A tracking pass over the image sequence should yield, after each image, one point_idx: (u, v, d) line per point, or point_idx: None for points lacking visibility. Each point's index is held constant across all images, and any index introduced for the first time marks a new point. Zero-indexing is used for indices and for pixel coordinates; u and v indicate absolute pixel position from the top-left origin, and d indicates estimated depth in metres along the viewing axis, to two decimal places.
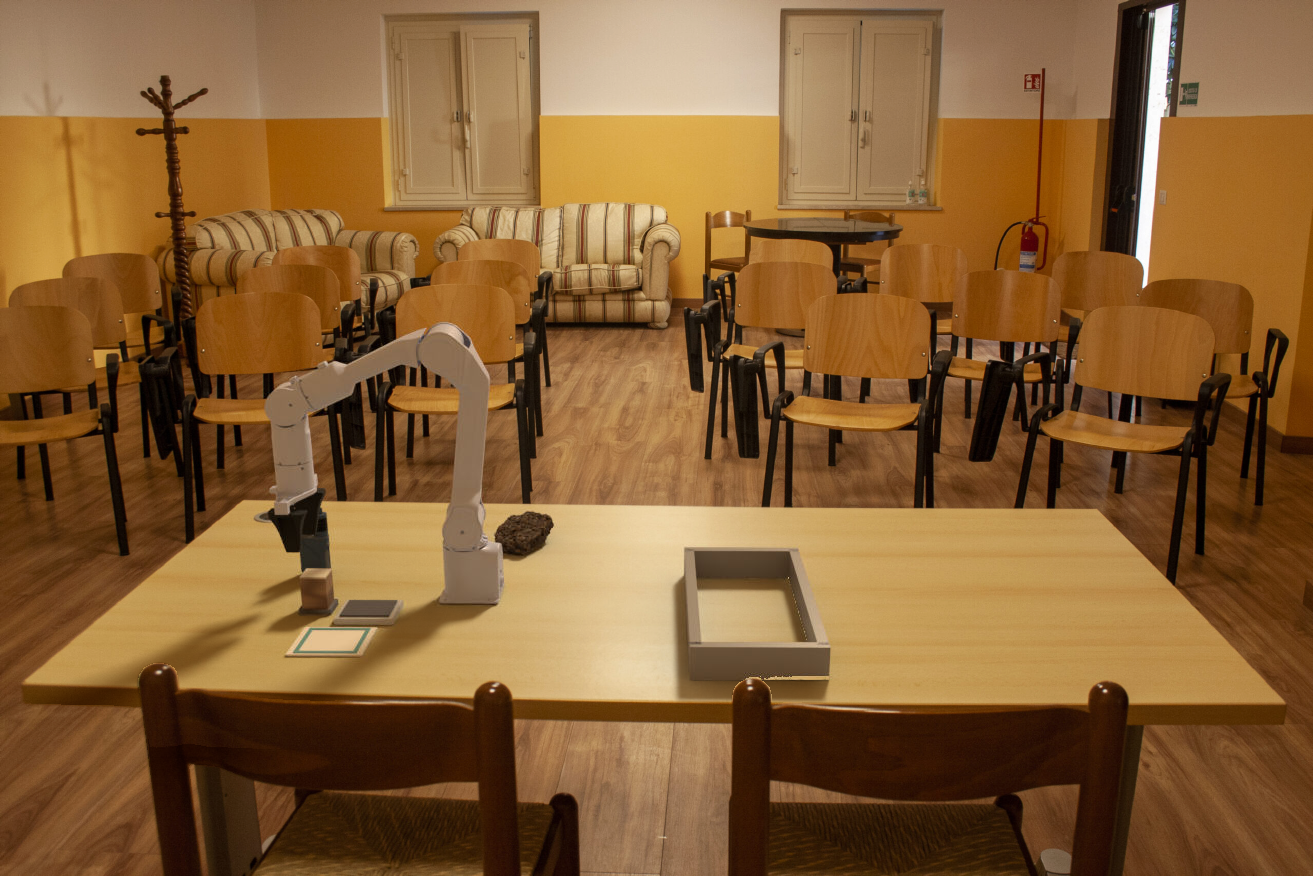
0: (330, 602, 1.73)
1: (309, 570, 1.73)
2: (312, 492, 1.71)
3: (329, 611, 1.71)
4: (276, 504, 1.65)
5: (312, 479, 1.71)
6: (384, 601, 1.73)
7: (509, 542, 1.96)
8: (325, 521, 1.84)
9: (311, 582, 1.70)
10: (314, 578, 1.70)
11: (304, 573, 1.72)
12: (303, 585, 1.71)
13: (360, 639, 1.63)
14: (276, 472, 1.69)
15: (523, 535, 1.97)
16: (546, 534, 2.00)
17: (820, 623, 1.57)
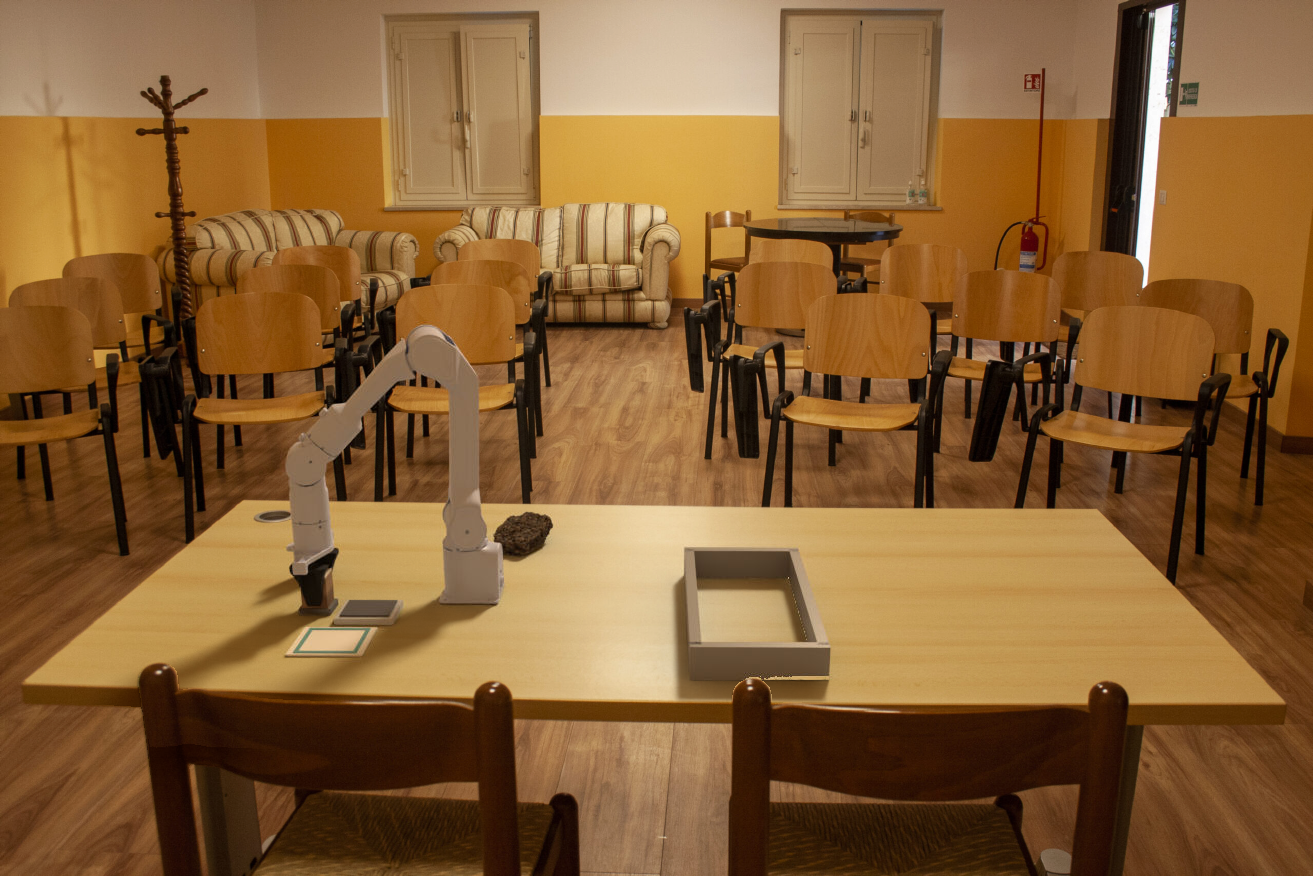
0: (330, 601, 1.73)
1: None
2: (329, 550, 1.70)
3: (329, 611, 1.71)
4: (294, 564, 1.64)
5: (329, 537, 1.70)
6: (384, 601, 1.73)
7: (508, 543, 1.95)
8: None
9: None
10: None
11: None
12: None
13: (360, 639, 1.63)
14: (293, 530, 1.68)
15: (523, 536, 1.97)
16: (545, 535, 2.00)
17: (820, 623, 1.57)
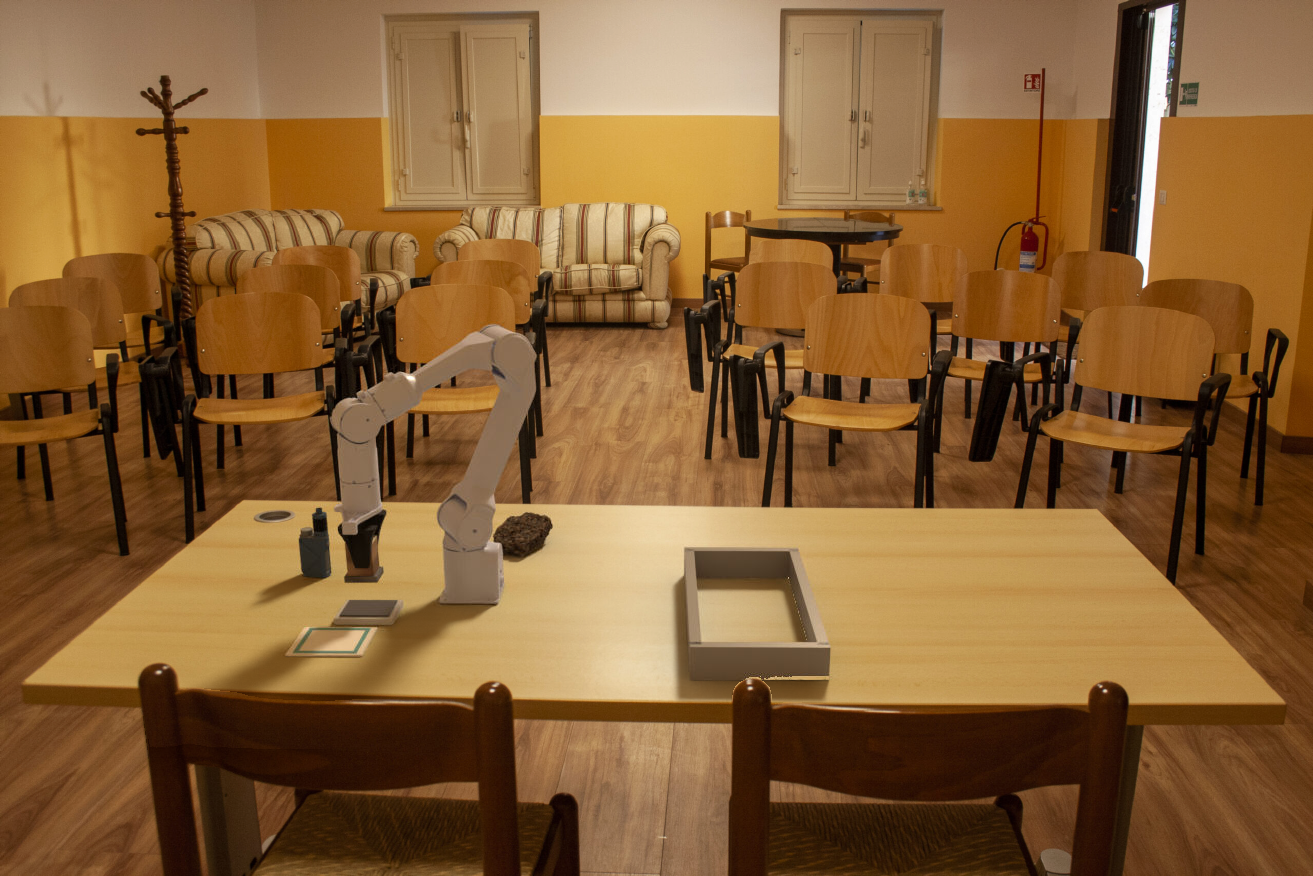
0: (376, 569, 1.69)
1: None
2: (378, 510, 1.66)
3: (375, 578, 1.68)
4: (344, 524, 1.60)
5: (378, 497, 1.66)
6: (384, 601, 1.73)
7: (508, 543, 1.95)
8: (325, 521, 1.84)
9: None
10: None
11: None
12: (348, 552, 1.67)
13: (360, 639, 1.63)
14: (342, 490, 1.64)
15: (522, 536, 1.97)
16: (545, 535, 2.00)
17: (820, 623, 1.57)
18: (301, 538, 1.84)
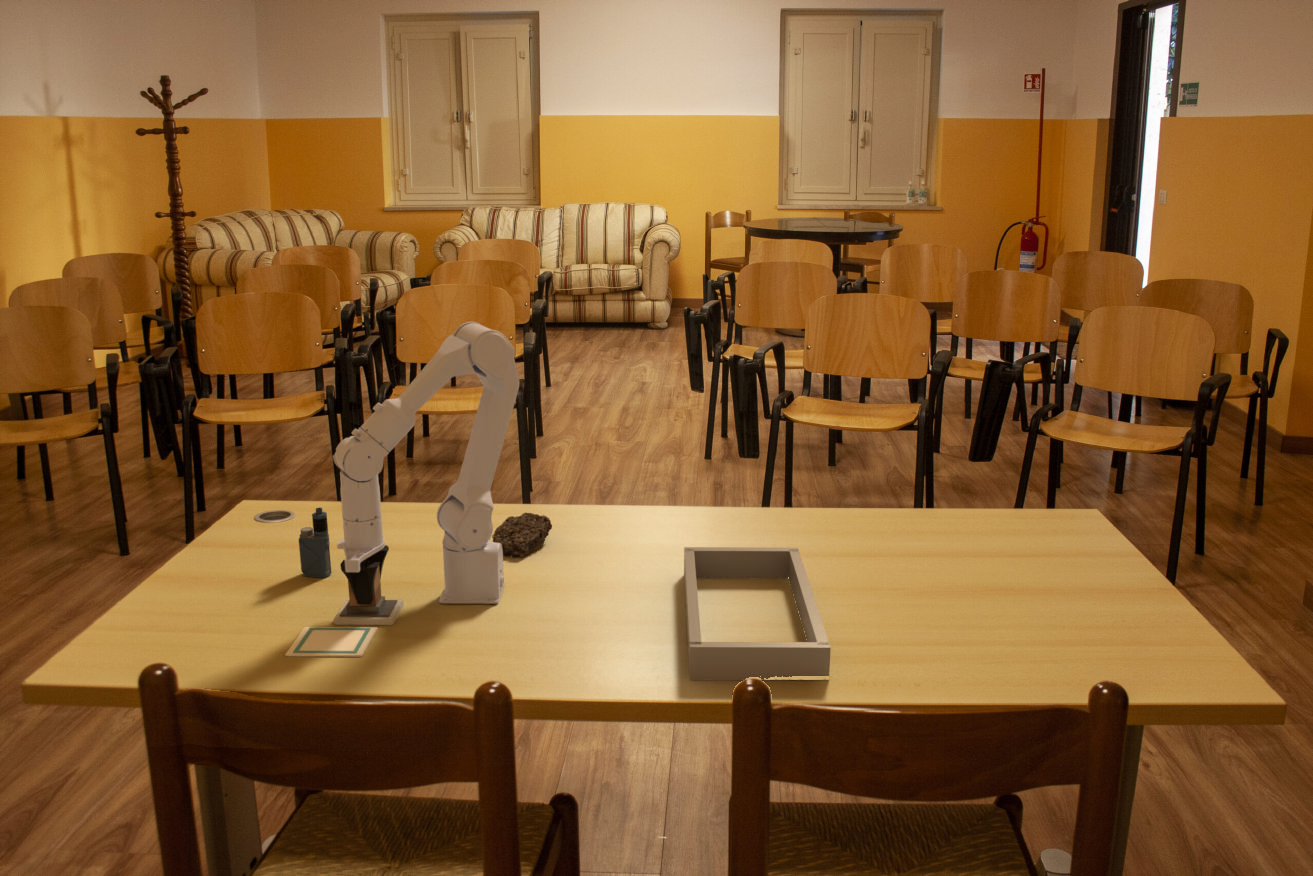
0: (378, 599, 1.71)
1: None
2: (381, 547, 1.67)
3: (377, 609, 1.69)
4: (347, 562, 1.61)
5: (381, 534, 1.68)
6: None
7: (507, 544, 1.95)
8: (325, 521, 1.84)
9: None
10: None
11: None
12: None
13: (360, 639, 1.63)
14: (345, 527, 1.66)
15: (522, 537, 1.96)
16: (544, 536, 2.00)
17: (820, 623, 1.57)
18: (301, 538, 1.84)
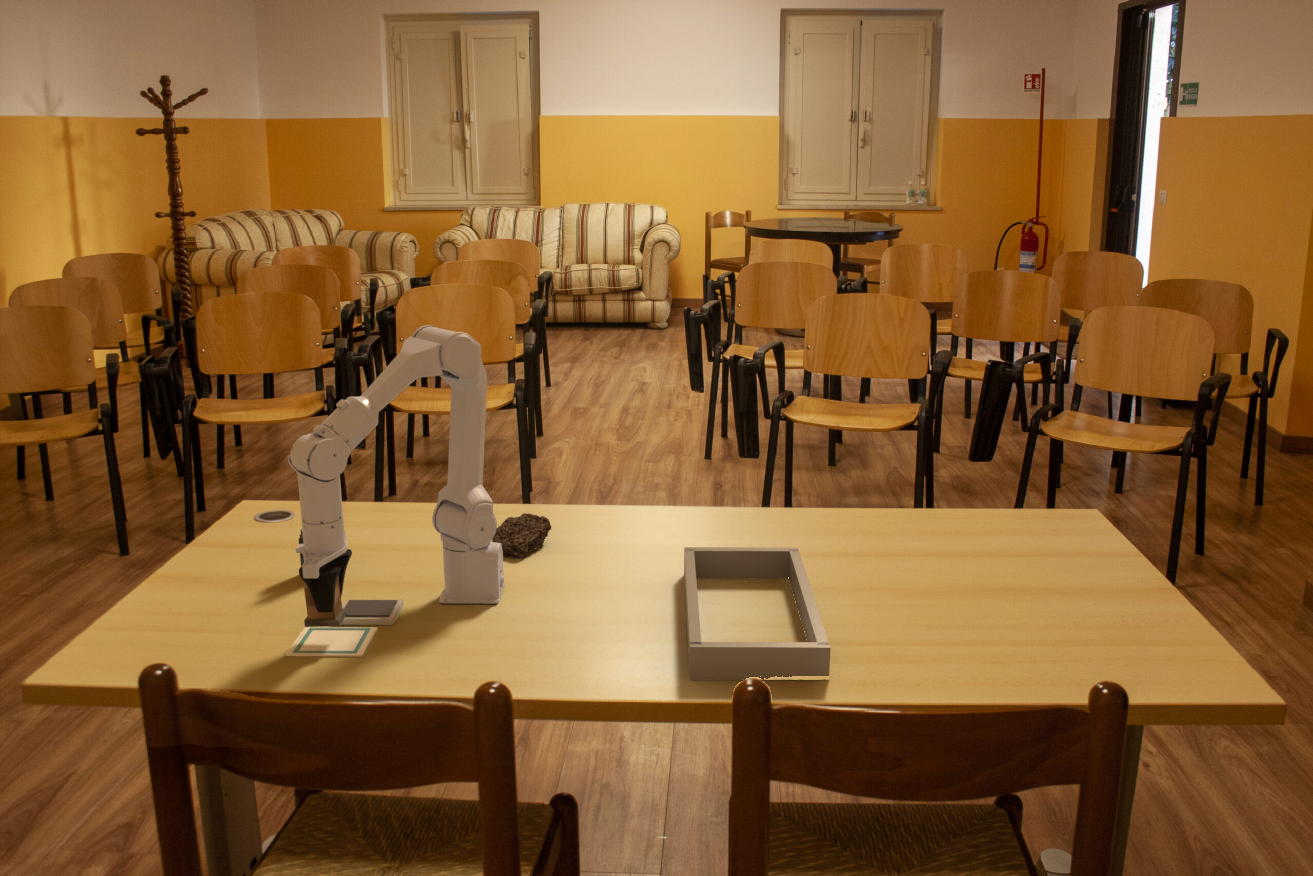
0: (338, 611, 1.61)
1: None
2: (342, 552, 1.57)
3: (337, 621, 1.59)
4: (305, 567, 1.52)
5: (342, 537, 1.58)
6: (384, 601, 1.73)
7: (507, 545, 1.95)
8: None
9: None
10: None
11: None
12: (308, 594, 1.58)
13: (360, 639, 1.63)
14: (304, 530, 1.56)
15: (521, 538, 1.96)
16: (544, 536, 1.99)
17: (820, 623, 1.57)
18: (301, 538, 1.84)
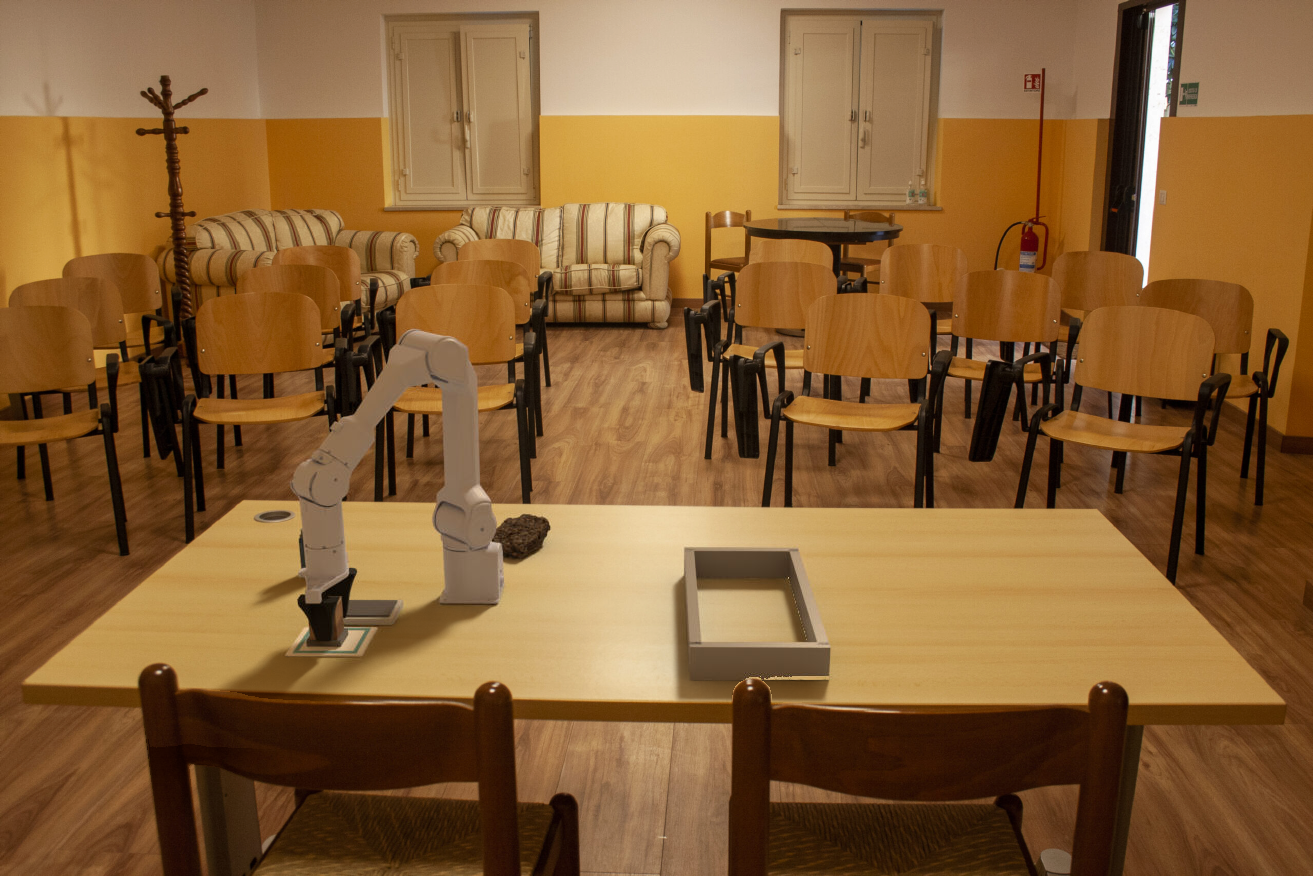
0: (340, 632, 1.62)
1: None
2: (344, 576, 1.58)
3: (339, 642, 1.60)
4: (307, 592, 1.53)
5: (344, 562, 1.59)
6: (384, 601, 1.73)
7: (506, 545, 1.94)
8: None
9: None
10: None
11: None
12: None
13: (360, 639, 1.63)
14: (306, 555, 1.57)
15: (520, 538, 1.96)
16: (543, 537, 1.99)
17: (820, 623, 1.57)
18: (301, 538, 1.84)
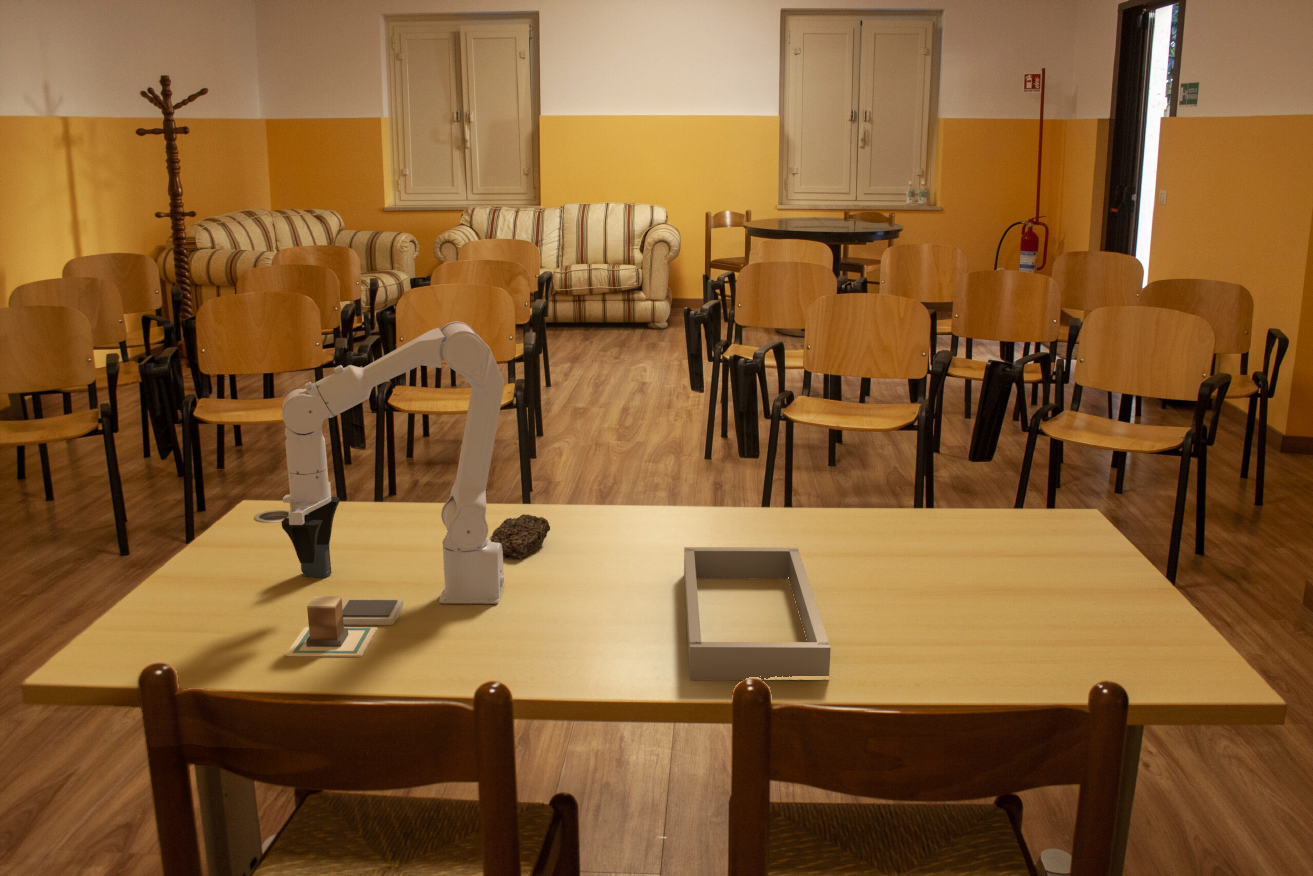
0: (340, 632, 1.62)
1: (317, 598, 1.61)
2: (327, 501, 1.66)
3: (339, 642, 1.60)
4: (291, 514, 1.61)
5: (327, 488, 1.67)
6: (384, 601, 1.73)
7: (506, 546, 1.94)
8: None
9: (320, 612, 1.59)
10: (323, 607, 1.59)
11: (312, 601, 1.60)
12: (311, 615, 1.59)
13: (360, 639, 1.63)
14: (290, 481, 1.65)
15: (520, 539, 1.95)
16: (542, 537, 1.99)
17: (820, 623, 1.57)
18: None
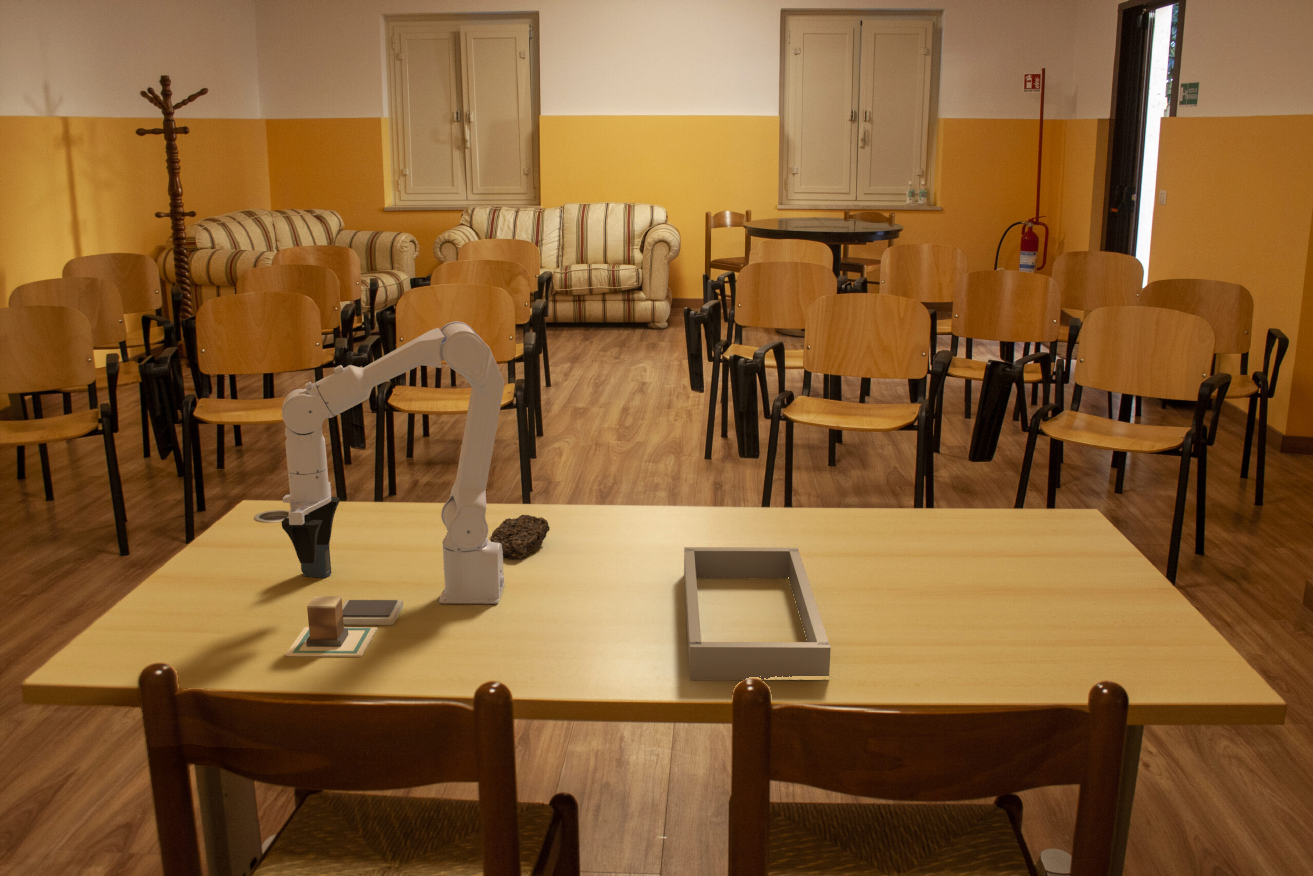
0: (340, 632, 1.62)
1: (317, 598, 1.61)
2: (327, 501, 1.66)
3: (339, 642, 1.60)
4: (291, 514, 1.61)
5: (327, 488, 1.67)
6: (384, 601, 1.73)
7: (505, 546, 1.94)
8: None
9: (320, 612, 1.59)
10: (323, 607, 1.59)
11: (312, 601, 1.60)
12: (311, 615, 1.59)
13: (360, 639, 1.63)
14: (290, 481, 1.65)
15: (519, 539, 1.95)
16: (542, 538, 1.99)
17: (820, 623, 1.57)
18: None
